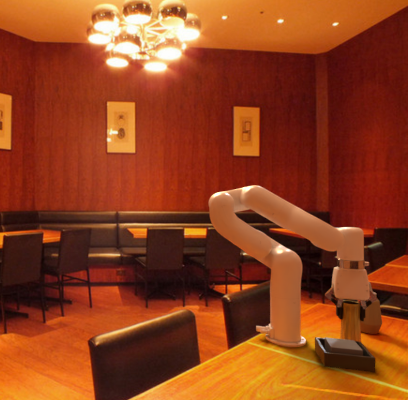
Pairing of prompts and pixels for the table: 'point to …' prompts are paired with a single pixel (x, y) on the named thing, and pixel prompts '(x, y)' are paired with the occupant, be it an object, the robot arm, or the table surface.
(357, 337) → the vase
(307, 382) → the table surface
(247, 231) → the robot arm
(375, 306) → the squeeze bottle
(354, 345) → the block
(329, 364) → the crate
